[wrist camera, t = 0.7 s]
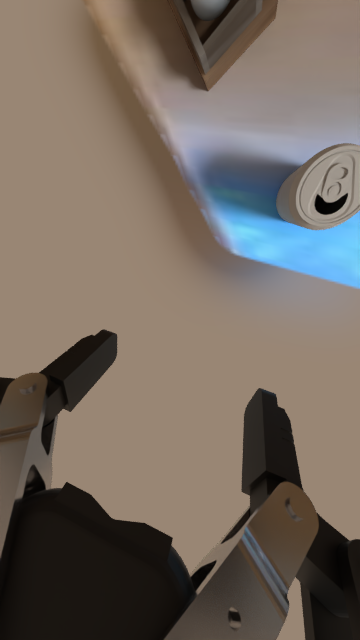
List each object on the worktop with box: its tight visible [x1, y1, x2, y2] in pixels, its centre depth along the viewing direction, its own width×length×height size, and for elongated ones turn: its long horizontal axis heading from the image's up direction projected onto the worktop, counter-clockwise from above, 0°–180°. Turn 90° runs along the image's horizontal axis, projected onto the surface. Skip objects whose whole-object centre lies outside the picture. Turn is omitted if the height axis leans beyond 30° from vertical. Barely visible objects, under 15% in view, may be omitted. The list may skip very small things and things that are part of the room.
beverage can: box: [276, 143, 360, 230], centre depth 21 cm, size 6×6×12 cm
